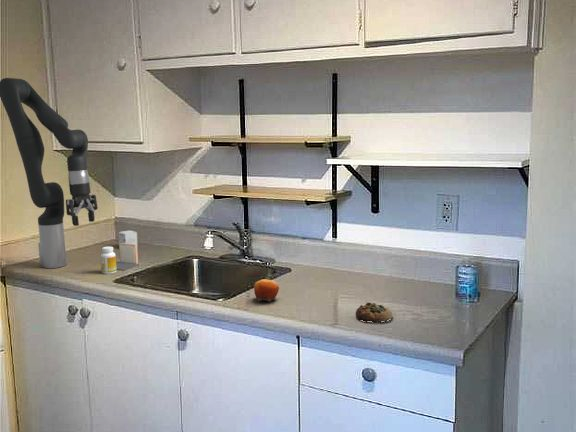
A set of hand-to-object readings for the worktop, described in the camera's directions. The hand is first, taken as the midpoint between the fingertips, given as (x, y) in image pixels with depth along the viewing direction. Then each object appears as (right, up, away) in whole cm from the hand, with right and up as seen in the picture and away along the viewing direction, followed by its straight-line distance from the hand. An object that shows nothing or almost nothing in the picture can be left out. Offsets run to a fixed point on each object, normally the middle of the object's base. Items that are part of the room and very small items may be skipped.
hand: (84, 223), depth 243 cm
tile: (+15, -16, +9) cm, 24 cm away
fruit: (+72, -24, -41) cm, 87 cm away
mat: (+13, -17, +4) cm, 22 cm away
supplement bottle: (+11, -19, -4) cm, 22 cm away
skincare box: (+8, -12, +36) cm, 39 cm away
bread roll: (+105, -27, -59) cm, 123 cm away
